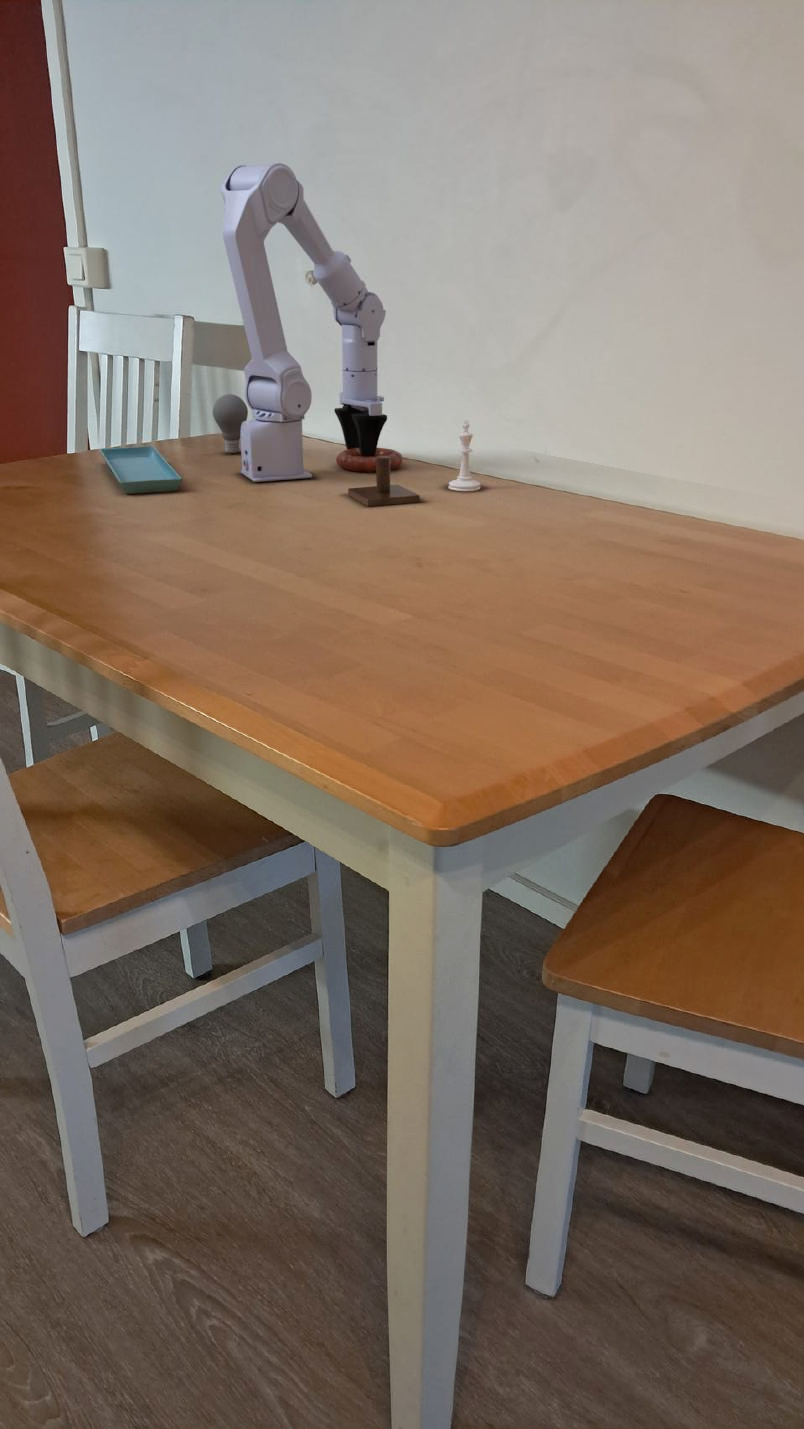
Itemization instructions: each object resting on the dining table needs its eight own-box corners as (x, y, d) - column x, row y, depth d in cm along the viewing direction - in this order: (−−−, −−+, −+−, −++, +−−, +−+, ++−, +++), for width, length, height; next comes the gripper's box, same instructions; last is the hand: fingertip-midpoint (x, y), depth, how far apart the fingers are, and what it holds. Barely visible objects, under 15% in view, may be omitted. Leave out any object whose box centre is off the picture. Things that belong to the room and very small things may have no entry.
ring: (350, 475, 171) (350, 459, 170) (328, 463, 180) (327, 448, 179) (412, 470, 174) (412, 455, 173) (387, 458, 184) (387, 444, 183)
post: (367, 506, 150) (367, 463, 148) (347, 495, 157) (347, 453, 155) (419, 502, 153) (420, 459, 151) (397, 490, 160) (398, 450, 158)
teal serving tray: (183, 492, 158) (182, 475, 157) (121, 496, 155) (119, 479, 154) (155, 460, 180) (154, 445, 179) (100, 463, 177) (98, 448, 176)
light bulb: (221, 449, 190) (217, 391, 186) (253, 450, 190) (250, 392, 186) (211, 455, 185) (207, 396, 181) (244, 456, 184) (241, 397, 180)
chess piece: (443, 489, 161) (445, 421, 157) (453, 483, 165) (455, 417, 161) (475, 492, 159) (477, 424, 155) (484, 486, 164) (487, 419, 160)
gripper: (399, 373, 170) (399, 459, 175) (366, 364, 182) (366, 445, 187) (358, 375, 167) (359, 462, 173) (327, 365, 179) (329, 447, 185)
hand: (360, 453), depth 180 cm, fingers open, 6 cm apart
